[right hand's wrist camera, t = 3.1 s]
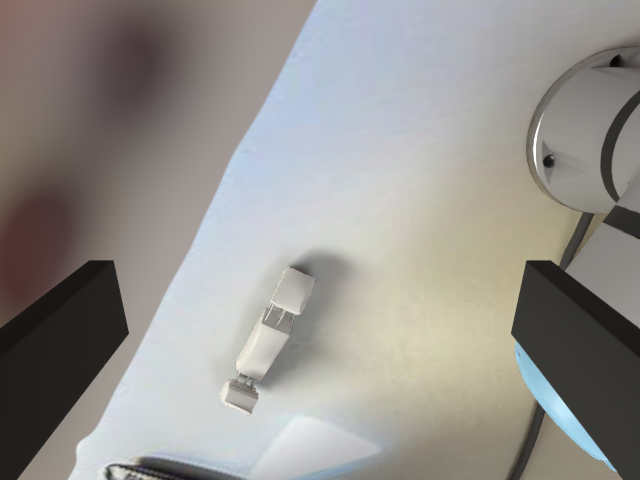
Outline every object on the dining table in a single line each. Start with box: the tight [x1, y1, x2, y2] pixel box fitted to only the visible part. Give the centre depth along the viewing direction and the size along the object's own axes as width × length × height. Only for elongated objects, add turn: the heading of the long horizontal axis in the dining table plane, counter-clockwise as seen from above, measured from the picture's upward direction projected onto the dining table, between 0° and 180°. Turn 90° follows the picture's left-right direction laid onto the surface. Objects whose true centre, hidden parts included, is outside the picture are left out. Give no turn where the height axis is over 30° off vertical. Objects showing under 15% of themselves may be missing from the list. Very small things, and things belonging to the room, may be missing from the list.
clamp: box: [220, 267, 316, 415], centre depth 45 cm, size 20×4×7 cm, turn 153°
